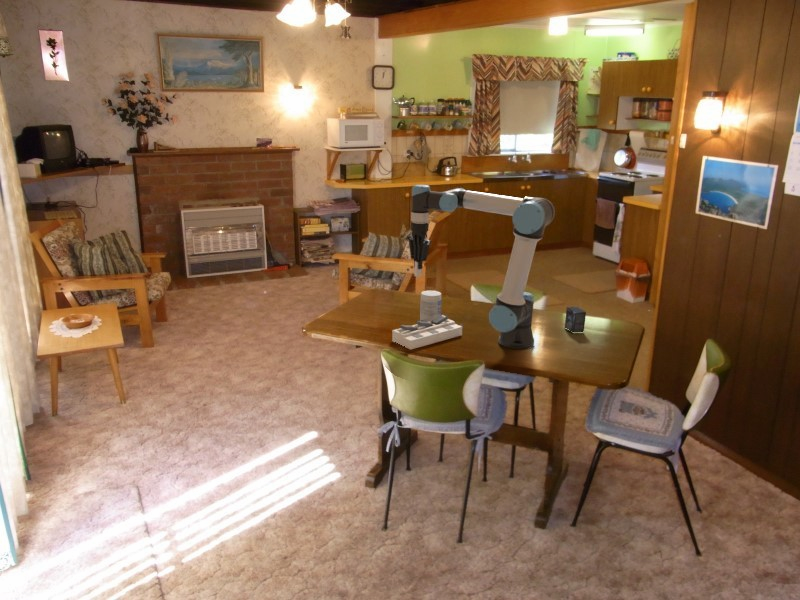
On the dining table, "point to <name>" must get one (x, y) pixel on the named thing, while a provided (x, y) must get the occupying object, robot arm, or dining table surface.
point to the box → (575, 319)
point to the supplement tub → (430, 305)
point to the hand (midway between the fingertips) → (417, 275)
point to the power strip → (426, 334)
